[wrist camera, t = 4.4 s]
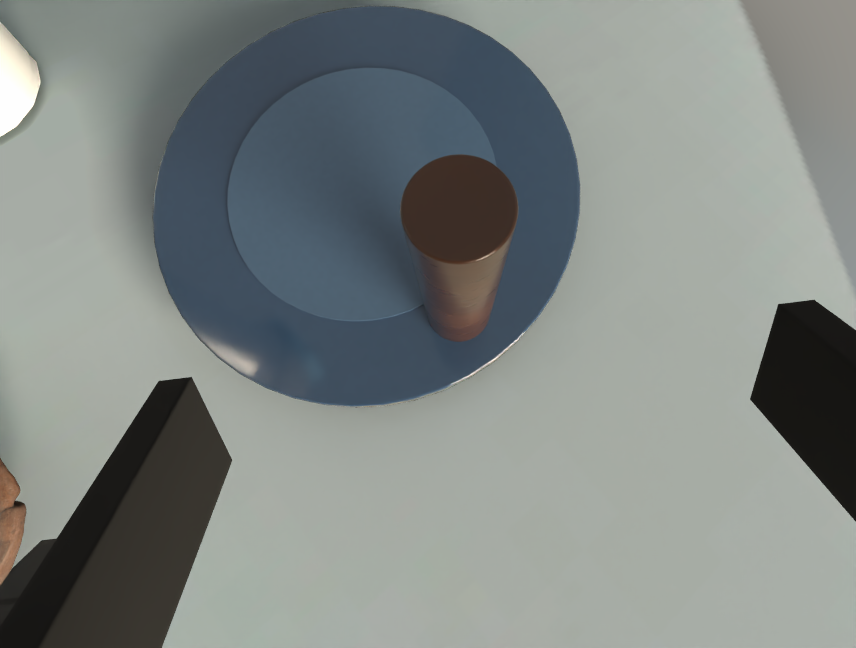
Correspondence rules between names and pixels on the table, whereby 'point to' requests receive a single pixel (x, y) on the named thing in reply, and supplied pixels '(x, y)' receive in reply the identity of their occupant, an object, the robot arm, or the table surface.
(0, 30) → the foam cup
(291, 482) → the table surface
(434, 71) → the blue disc with rod
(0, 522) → the broken brown clay pot
